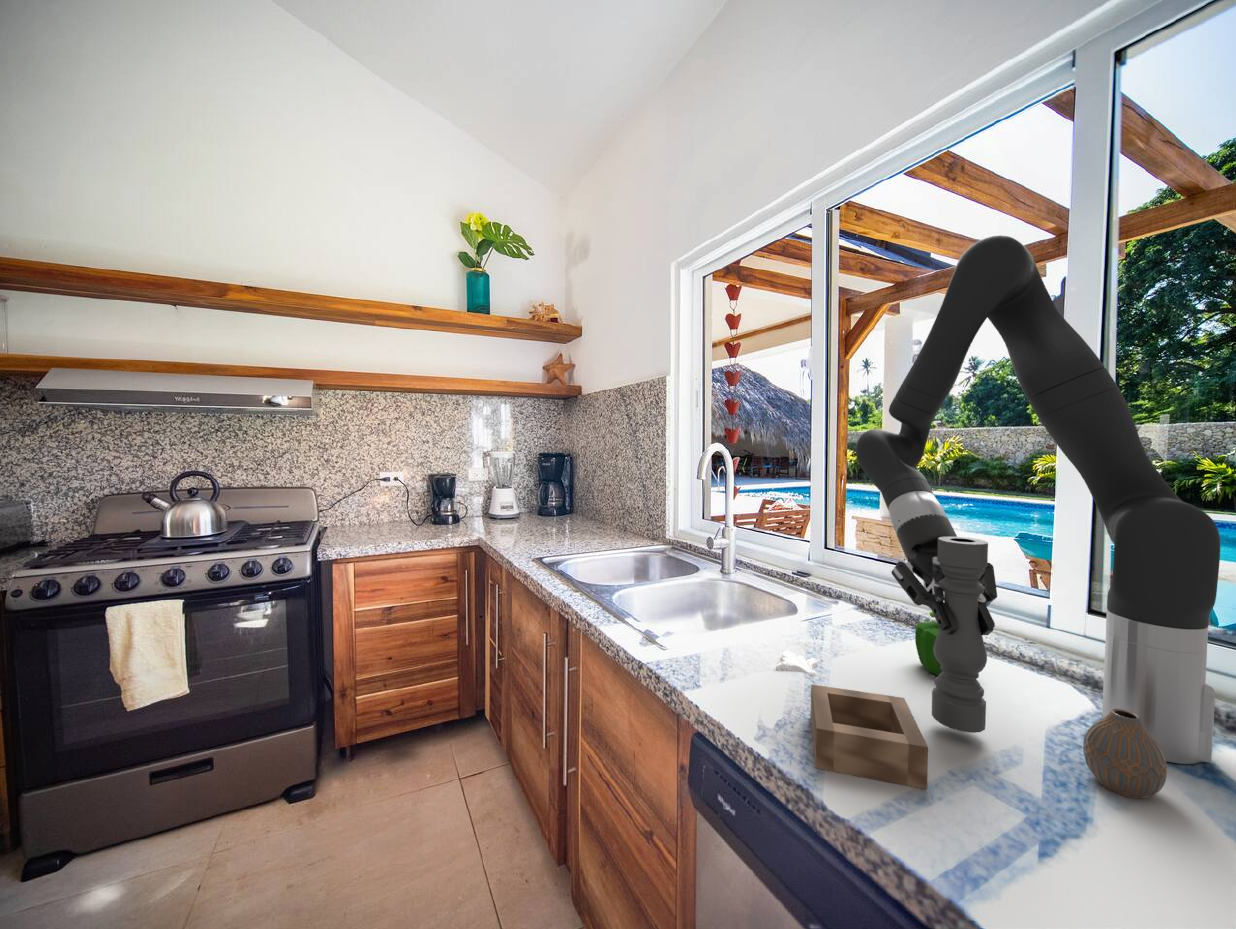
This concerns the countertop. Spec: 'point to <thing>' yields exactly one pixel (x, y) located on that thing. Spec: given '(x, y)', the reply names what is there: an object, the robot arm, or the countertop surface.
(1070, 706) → the countertop surface
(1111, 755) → the vase
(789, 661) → the acanthus leaf ornament
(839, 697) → the socket block
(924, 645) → the bell pepper
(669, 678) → the countertop surface
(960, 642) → the candle holder
